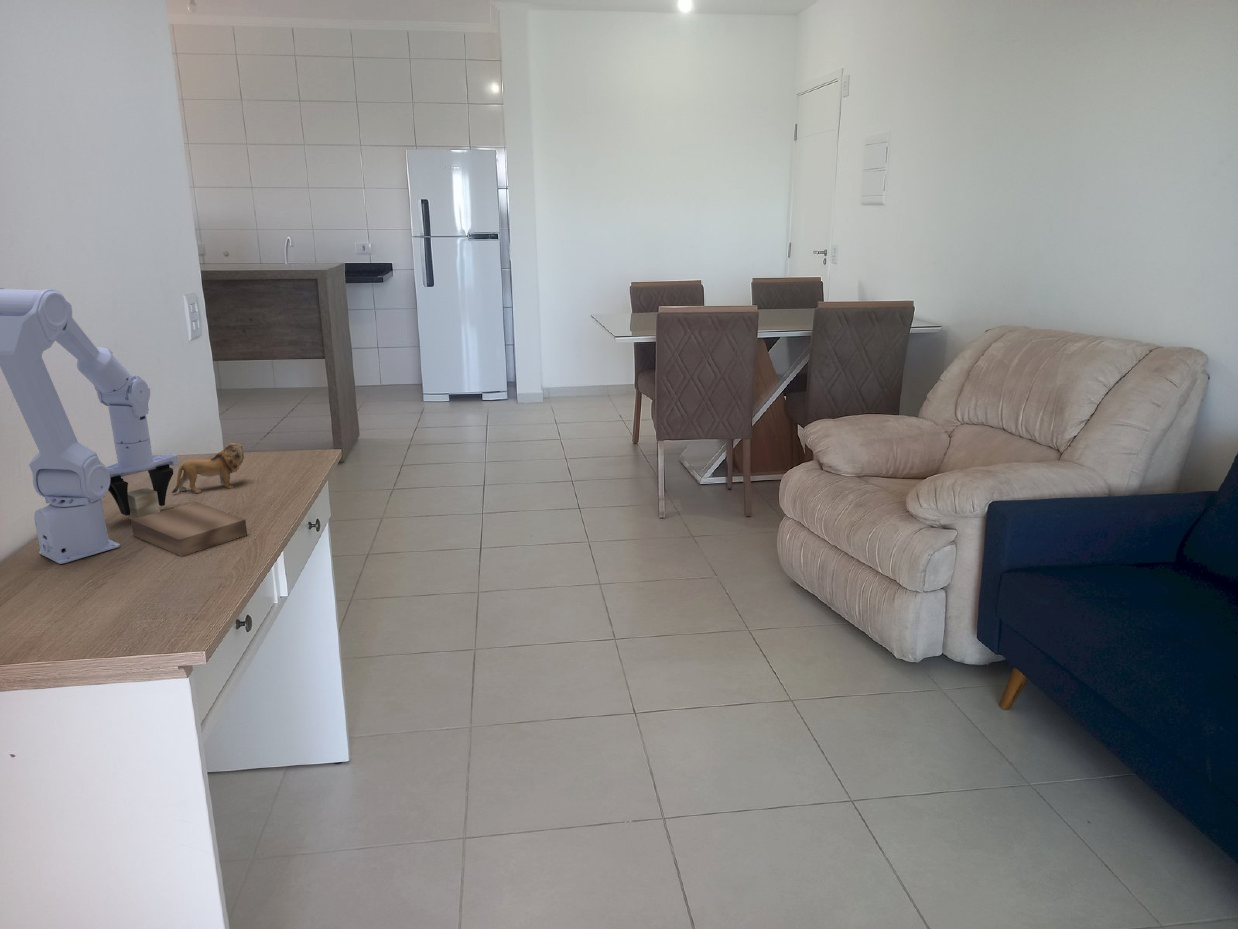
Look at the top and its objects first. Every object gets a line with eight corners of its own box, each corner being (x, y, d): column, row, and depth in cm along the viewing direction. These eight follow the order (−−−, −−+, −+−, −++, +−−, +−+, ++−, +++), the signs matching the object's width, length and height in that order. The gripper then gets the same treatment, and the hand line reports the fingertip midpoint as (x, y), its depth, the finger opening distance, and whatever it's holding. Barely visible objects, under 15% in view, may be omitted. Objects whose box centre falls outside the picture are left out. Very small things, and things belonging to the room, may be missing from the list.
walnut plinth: (181, 556, 140) (179, 539, 139) (133, 535, 148) (130, 519, 148) (247, 535, 149) (245, 519, 148) (198, 516, 158) (196, 501, 157)
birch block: (139, 522, 155) (135, 497, 153) (128, 518, 157) (124, 493, 156) (160, 516, 158) (156, 491, 157) (149, 512, 160) (145, 487, 159)
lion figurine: (243, 479, 180) (238, 439, 178) (251, 485, 177) (246, 444, 174) (169, 492, 171) (162, 450, 169) (175, 499, 167) (169, 456, 165)
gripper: (160, 428, 161) (170, 495, 165) (79, 444, 150) (92, 515, 153) (179, 434, 157) (189, 502, 161) (98, 451, 146) (110, 523, 150)
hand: (143, 509), depth 157 cm, fingers open, 6 cm apart
